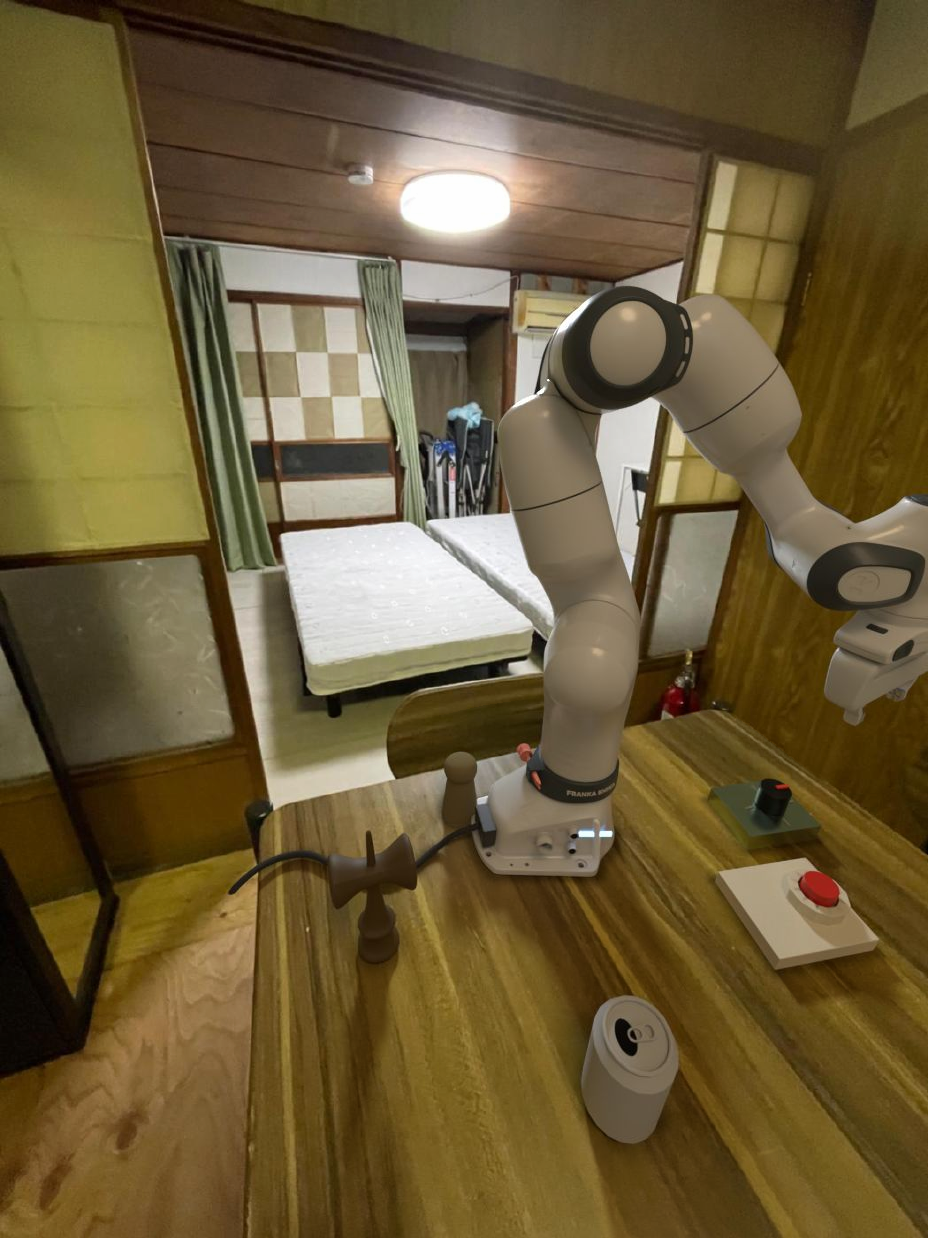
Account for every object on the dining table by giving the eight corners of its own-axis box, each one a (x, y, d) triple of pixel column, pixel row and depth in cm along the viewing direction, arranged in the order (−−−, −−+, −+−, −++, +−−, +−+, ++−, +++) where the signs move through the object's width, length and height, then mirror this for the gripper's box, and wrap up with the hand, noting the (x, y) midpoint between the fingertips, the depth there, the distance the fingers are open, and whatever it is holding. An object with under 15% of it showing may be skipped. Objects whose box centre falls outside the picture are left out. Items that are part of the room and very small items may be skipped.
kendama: (422, 956, 63) (418, 841, 54) (342, 982, 60) (324, 865, 51) (411, 911, 68) (406, 800, 59) (337, 934, 65) (320, 820, 56)
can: (571, 1055, 54) (584, 989, 49) (639, 1048, 55) (660, 983, 49) (593, 1152, 47) (611, 1089, 42) (671, 1144, 48) (699, 1080, 43)
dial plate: (746, 850, 77) (751, 835, 76) (707, 800, 86) (711, 786, 85) (815, 839, 79) (822, 825, 78) (770, 792, 88) (775, 778, 87)
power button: (815, 909, 65) (820, 900, 64) (792, 881, 69) (796, 872, 68) (843, 904, 66) (847, 895, 65) (818, 877, 69) (822, 868, 68)
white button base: (774, 970, 62) (784, 950, 60) (714, 882, 72) (721, 862, 71) (873, 950, 64) (885, 930, 62) (801, 867, 75) (809, 848, 73)
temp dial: (767, 817, 79) (774, 799, 78) (748, 796, 83) (754, 778, 81) (792, 813, 80) (799, 795, 78) (772, 793, 84) (778, 775, 82)
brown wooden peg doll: (475, 829, 80) (477, 775, 76) (437, 823, 81) (437, 769, 76) (480, 800, 86) (483, 748, 81) (445, 795, 87) (445, 743, 82)
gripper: (922, 593, 71) (894, 675, 78) (826, 636, 64) (803, 722, 71) (979, 609, 66) (943, 696, 73) (881, 658, 59) (851, 749, 66)
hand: (873, 709), depth 72 cm, fingers open, 8 cm apart
